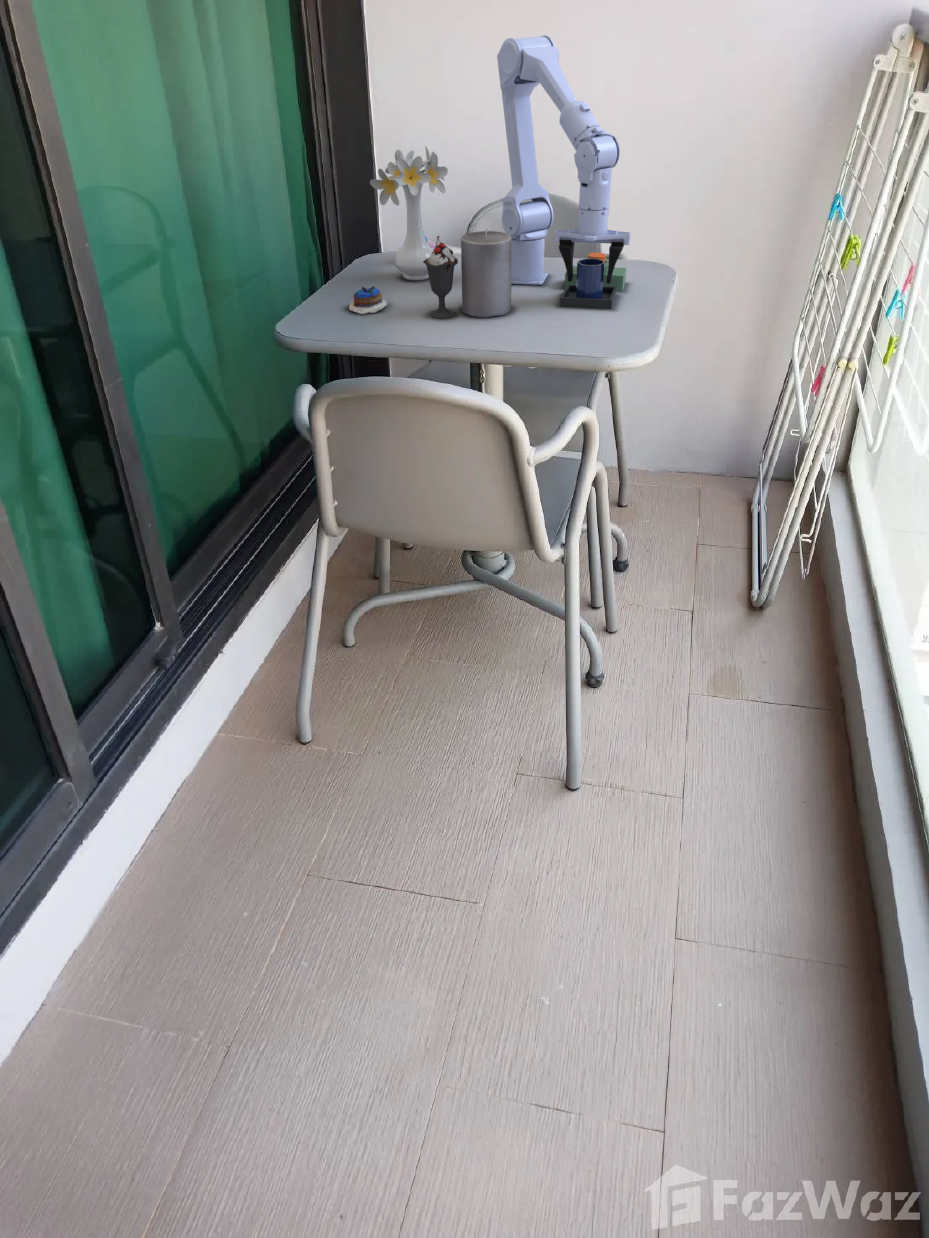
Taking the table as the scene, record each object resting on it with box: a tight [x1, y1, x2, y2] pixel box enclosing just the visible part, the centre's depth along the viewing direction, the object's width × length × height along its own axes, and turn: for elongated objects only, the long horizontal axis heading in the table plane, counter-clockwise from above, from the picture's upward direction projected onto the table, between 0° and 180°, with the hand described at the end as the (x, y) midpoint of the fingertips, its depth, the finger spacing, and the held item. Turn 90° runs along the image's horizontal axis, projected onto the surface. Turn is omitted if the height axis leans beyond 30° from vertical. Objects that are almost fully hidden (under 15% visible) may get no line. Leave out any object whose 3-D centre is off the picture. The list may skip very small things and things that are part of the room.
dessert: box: [348, 285, 388, 315], centre depth 180 cm, size 8×7×6 cm
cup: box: [576, 258, 605, 299], centre depth 178 cm, size 5×5×7 cm
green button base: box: [564, 257, 627, 293], centre depth 188 cm, size 12×6×5 cm, turn 76°
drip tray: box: [559, 285, 618, 310], centre depth 180 cm, size 10×9×2 cm
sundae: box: [423, 235, 459, 319], centre depth 172 cm, size 7×7×15 cm
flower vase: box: [369, 145, 449, 281], centre depth 190 cm, size 13×18×25 cm
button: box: [587, 252, 607, 262], centre depth 186 cm, size 4×4×2 cm
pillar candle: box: [460, 229, 512, 318], centre depth 173 cm, size 10×10×15 cm
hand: (589, 281), depth 179 cm, fingers open, 7 cm apart
